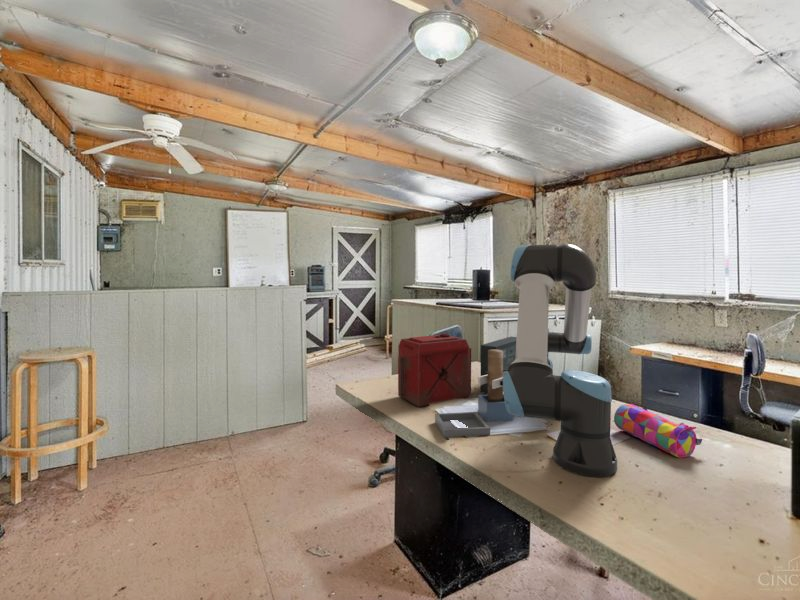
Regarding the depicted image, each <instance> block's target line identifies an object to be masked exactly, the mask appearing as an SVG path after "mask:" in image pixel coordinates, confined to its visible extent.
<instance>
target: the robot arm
mask: <svg viewBox="0 0 800 600" xmlns="http://www.w3.org/2000/svg"><path fill="white" fill-rule="evenodd" d="M510 264H511V265H510V266H511V267H510V280H511V281H512V282H514V285H515V287H516V288H517V289H518V290H519V294H518V296H519V297H518V311H517V326H516V337H517V339H516V354H515V361H513V362H512V363H511V364H510V365H509V368H508V369H504V370H503V377H502V378H498V379H495V380H492V389H496V388H499V387H502V386H503V394H504V401H505V407H506V410H507V412H508V413H509V414H512V415H513V416H516V417H522V418H532V419H533V418H534V419H542V420H548V421H555V422H556V421H557V422H560V430H559V433H558V435H557V437H556V438H557V439H556V440H555V443H554V446H553V449H552V460H553V462H554V463H555V464H557V465H558V467H561V468H562V469H565V470H567V471H569V472H571V473H575V474H577V475H581V476H586V477H587V476H588V477H595V478H597V477H598V478H599V477H602V478H603V477H610V476H612V475H614V474H615V473H617V471H618V458H617V454H616V452H615V449H614V445H613V442H612V439H611V417H612V416H611V413H612V412H611V411H612V402H613V398H612V385H611V383H610V382H609V381H608V380H607V379H606V378H604V377H602V376H600V375H597V374H594V373H591V372H588V371H583V370H582V371H581V370H576V369H564V370H562V372H561V375H554V374H553V373H554V369H553V368H554V363H553V361H552V359H551V358H550V357H549V353H559V354H573V355H589V354H591V352H592V341H593V340H592V336H591V334H588V332H587V331H588V324H589V314H590V307H591V306H590V305H591V296H592V290H593V288H594V287H595V286H596V284H597V270H596V266H595V265H594V262H593V260H592V259H591V257H590V256H589V255H588V253H586V251H584V250H583V249H582V248H580V247H578V246H577V245H575V244H571V243H560V244H559V243H557V244H556V243H555V244H554V243H553V244H534V245H533V244H526V245H524V244H523V245H519V246H517V247H516V248H515V250H514V251H513V255H512V258H511V263H510ZM555 282H557V283H559V282H562V285H563V286H564V287H565V299H564V300H565V302H564V304H565V305H564V320H563V321H564V322H563V332H554V331H553V332H551V331H550V328H549V309H550V308H549V307H550V300H549V299H550V291H552V289H553V288H554V287H555ZM486 383H488V371H487V372H485V375H484V376H481V375H480V376H478V377H477V385H478V386H480V385H483V384H486Z"/></svg>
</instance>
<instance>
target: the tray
mask: <svg viewBox="0 0 800 600" xmlns="http://www.w3.org/2000/svg"><path fill="white" fill-rule="evenodd" d="M450 420H458V421H459V422H462V423H463V424H465V425H466V427H467V426H468V428H457V427H455V426H454V425H453V424H452V423H451V421H450ZM434 423H435V425H436V427H437V429H438V430H439V432H440V434H441V437H442V438H443V440H444V441H450V438H451V437H468V436H469V437H470V436H471V437H472V436H488V435H491V427H490V426H489V425H488V424H487V422H485V419H484V418H483V417H482V416H481V415H480V414H478V411H477V412H476V411H468V412H464V411H463V412H444V413H434Z"/></svg>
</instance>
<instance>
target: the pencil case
mask: <svg viewBox="0 0 800 600" xmlns="http://www.w3.org/2000/svg"><path fill="white" fill-rule="evenodd" d="M642 408H643V407H642ZM642 408H641V407H639V406H637V405H635V404H634V403H629V404H628V403H625V404H622V405H620V406H619V407H618V408H617V409H616V410H615V412H614V415H613V416H614V417H613V421H614V425H615V426H616V427H617V428H618V429H619V430H621V431H624V432H626V433H627V434H629V435H631V436H633V437H635V438H639V439H640V440H642V441H644V442H645V443H647V444H650V445H652V446H654V447H656V448H658V449H660V450H662V451H664V452H666V453H667V454H670V455H671V456H674V457H677V458H680V459H682V458H688V457H689V456H691V455H693V453H694V451H695V449H696V446H699V445H702V441H703V438H697V433H696V432H695V431H694V430H695V429H696V430H697V426H689V425H686V424H685V422H680V423H679V424H678V423H675V422H674V421H671V420H669V419H667V418H665V417H663V416H661V415H658V414H656V413H654V412H651V411H649V410H648V409H647V410H648V411H647V410H644V409H642Z"/></svg>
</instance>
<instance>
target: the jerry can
mask: <svg viewBox="0 0 800 600" xmlns="http://www.w3.org/2000/svg"><path fill="white" fill-rule="evenodd" d="M397 350H398V352H397V356H398V357H397V361H398V362H397V369H398V370H397V384H398V385H397V390H398V391H397V395H398V397H400V398H403V400H406V401H408V402H409V403H411V404H413V405H414V406H416V407H419V408H421V407H426V406H427V407H428V406H430V404H434V403H435V404H436V403H439V402H444V401H449V400H455V399H466V398H469V397H470V395H471V394H472V347H470V345H469V343H468V340H467V339H466V338H462V337H457V336H452V335H451V334H450V333H439V334H436V335H435V334H434V335H424V336H412V337H408V338H401V339H400V341H399V343H398V349H397Z"/></svg>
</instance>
